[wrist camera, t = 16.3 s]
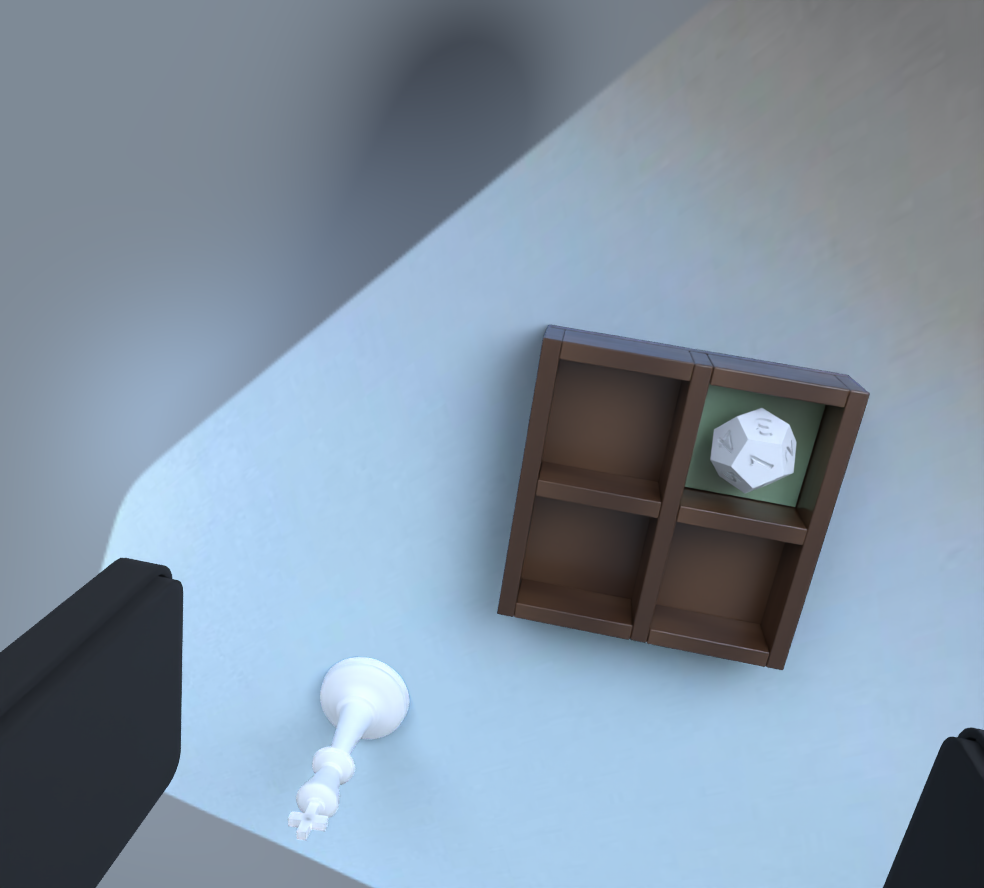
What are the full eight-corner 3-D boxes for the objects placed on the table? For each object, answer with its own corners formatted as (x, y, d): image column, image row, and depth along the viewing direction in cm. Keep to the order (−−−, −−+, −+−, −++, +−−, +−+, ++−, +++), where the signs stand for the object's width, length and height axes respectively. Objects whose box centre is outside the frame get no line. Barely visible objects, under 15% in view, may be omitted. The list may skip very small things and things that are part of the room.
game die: (763, 490, 37) (776, 517, 34) (690, 454, 37) (697, 478, 34) (806, 424, 36) (823, 446, 33) (731, 387, 36) (742, 406, 33)
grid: (504, 582, 41) (496, 614, 38) (548, 324, 37) (543, 337, 34) (770, 634, 40) (783, 671, 37) (849, 375, 36) (870, 393, 33)
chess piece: (409, 737, 45) (357, 887, 36) (323, 727, 46) (250, 872, 36) (409, 661, 43) (355, 797, 34) (321, 651, 44) (243, 782, 35)
